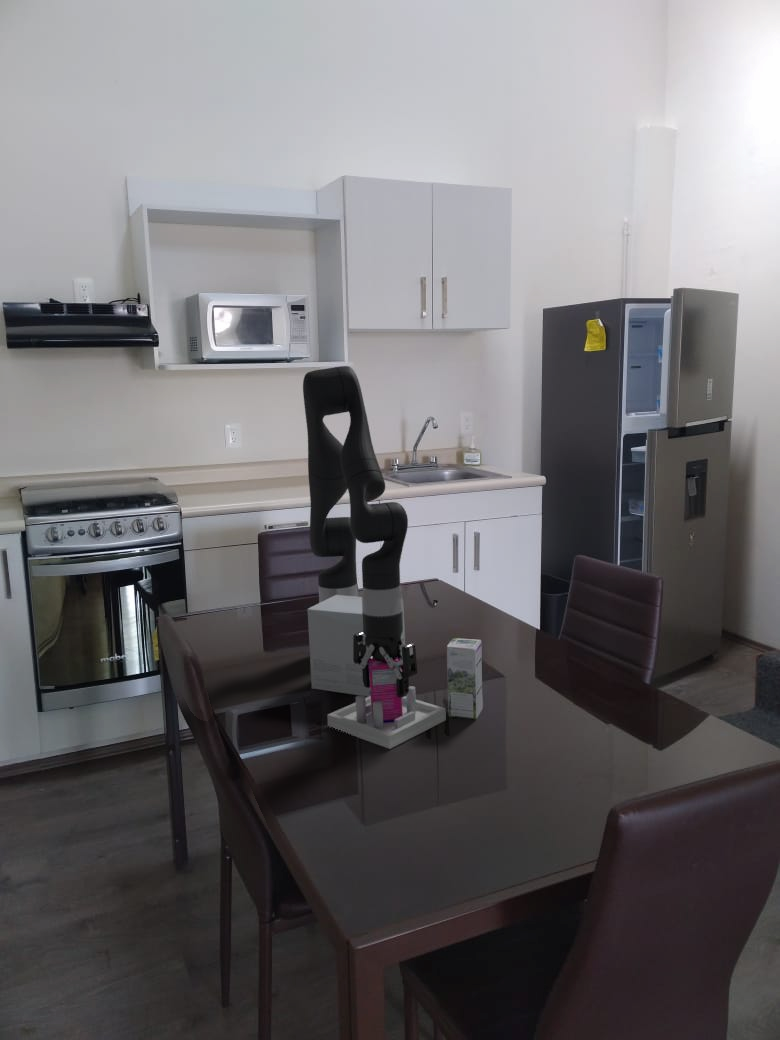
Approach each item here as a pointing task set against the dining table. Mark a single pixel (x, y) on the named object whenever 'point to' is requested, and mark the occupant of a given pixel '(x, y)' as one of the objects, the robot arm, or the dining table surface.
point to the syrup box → (464, 678)
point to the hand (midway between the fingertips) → (385, 691)
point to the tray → (390, 734)
